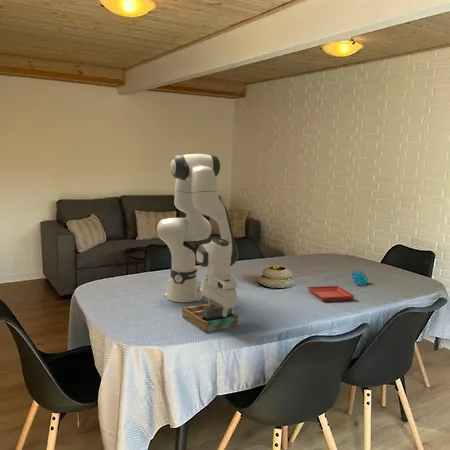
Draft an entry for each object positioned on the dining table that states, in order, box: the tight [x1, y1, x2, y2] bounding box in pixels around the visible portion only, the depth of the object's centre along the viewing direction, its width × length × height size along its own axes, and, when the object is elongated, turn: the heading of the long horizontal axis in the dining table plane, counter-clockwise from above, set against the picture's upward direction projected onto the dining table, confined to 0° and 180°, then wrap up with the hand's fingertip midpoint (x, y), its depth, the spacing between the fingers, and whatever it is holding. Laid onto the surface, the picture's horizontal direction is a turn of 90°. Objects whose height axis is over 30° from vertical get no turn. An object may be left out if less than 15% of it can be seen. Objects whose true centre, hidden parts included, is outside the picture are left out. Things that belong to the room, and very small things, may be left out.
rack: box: [181, 302, 240, 333], centre depth 194 cm, size 16×19×4 cm
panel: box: [203, 304, 233, 321], centre depth 189 cm, size 12×3×7 cm, turn 123°
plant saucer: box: [306, 285, 355, 303], centre depth 235 cm, size 18×18×3 cm
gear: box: [351, 269, 370, 287], centre depth 261 cm, size 11×6×10 cm
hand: (217, 312), depth 188 cm, fingers open, 8 cm apart
